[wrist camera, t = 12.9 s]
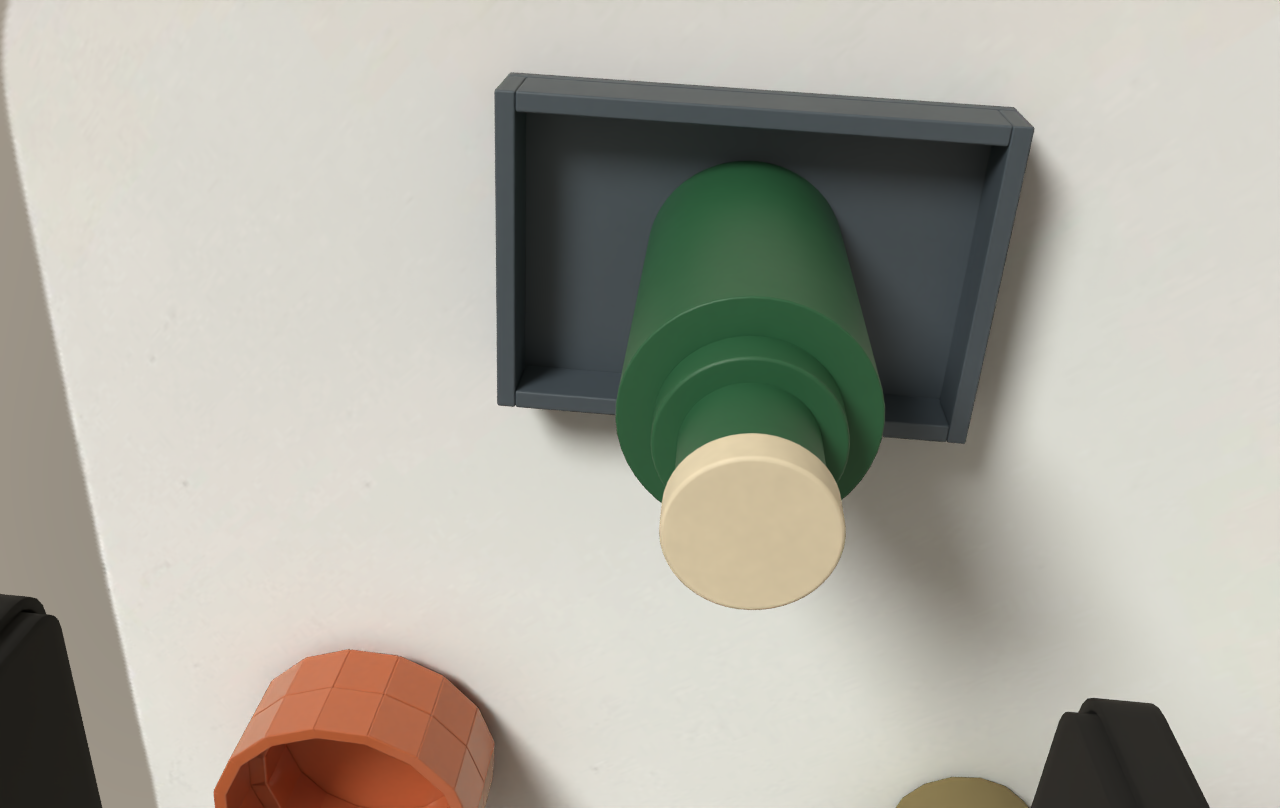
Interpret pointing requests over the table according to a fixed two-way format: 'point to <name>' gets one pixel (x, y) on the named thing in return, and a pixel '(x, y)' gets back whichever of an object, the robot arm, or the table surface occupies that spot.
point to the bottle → (749, 385)
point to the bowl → (360, 740)
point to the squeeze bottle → (962, 795)
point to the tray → (767, 132)
